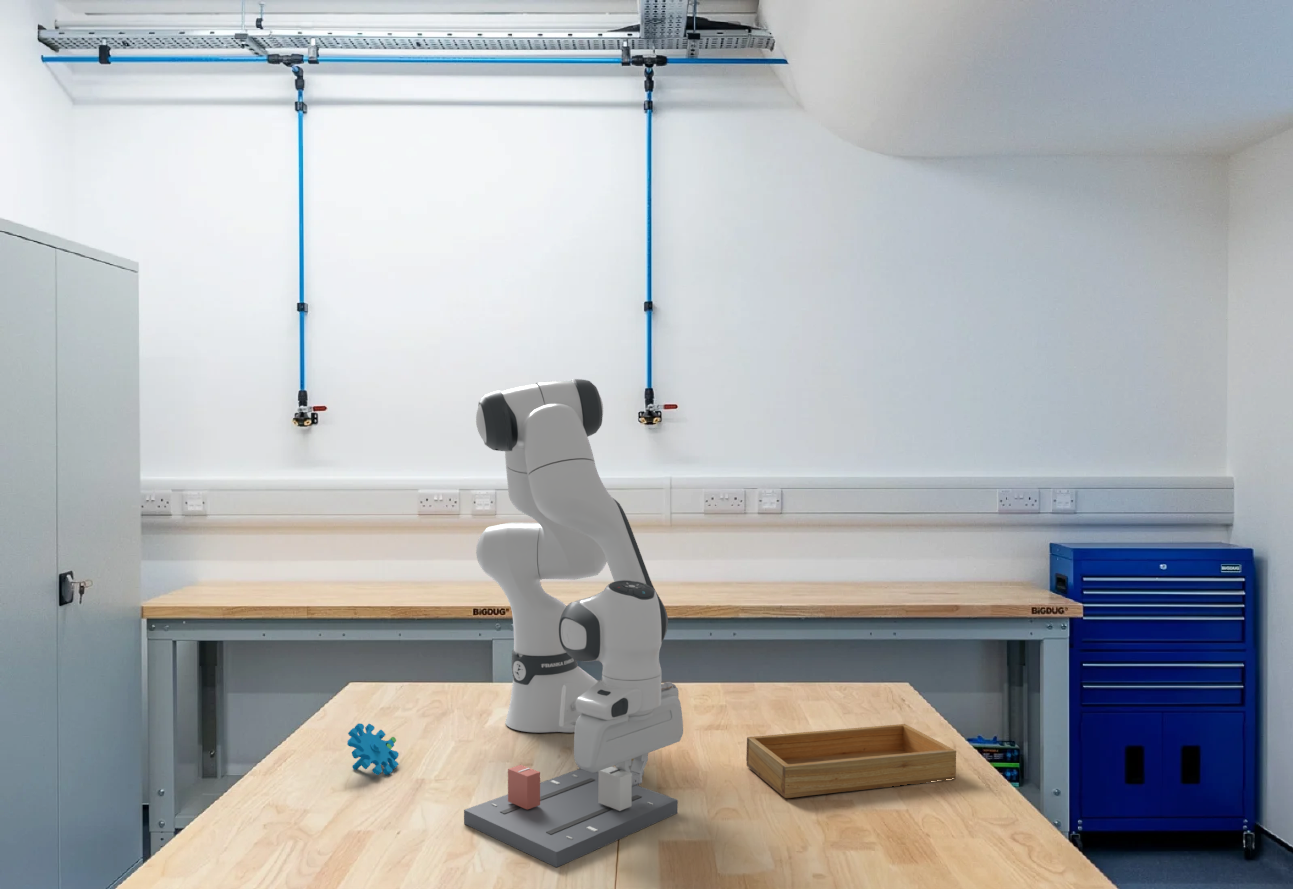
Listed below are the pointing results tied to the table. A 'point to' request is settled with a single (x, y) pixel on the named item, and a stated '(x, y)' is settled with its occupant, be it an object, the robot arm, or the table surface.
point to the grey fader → (615, 788)
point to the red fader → (524, 787)
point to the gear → (372, 749)
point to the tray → (849, 759)
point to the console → (568, 818)
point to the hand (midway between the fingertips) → (631, 785)
